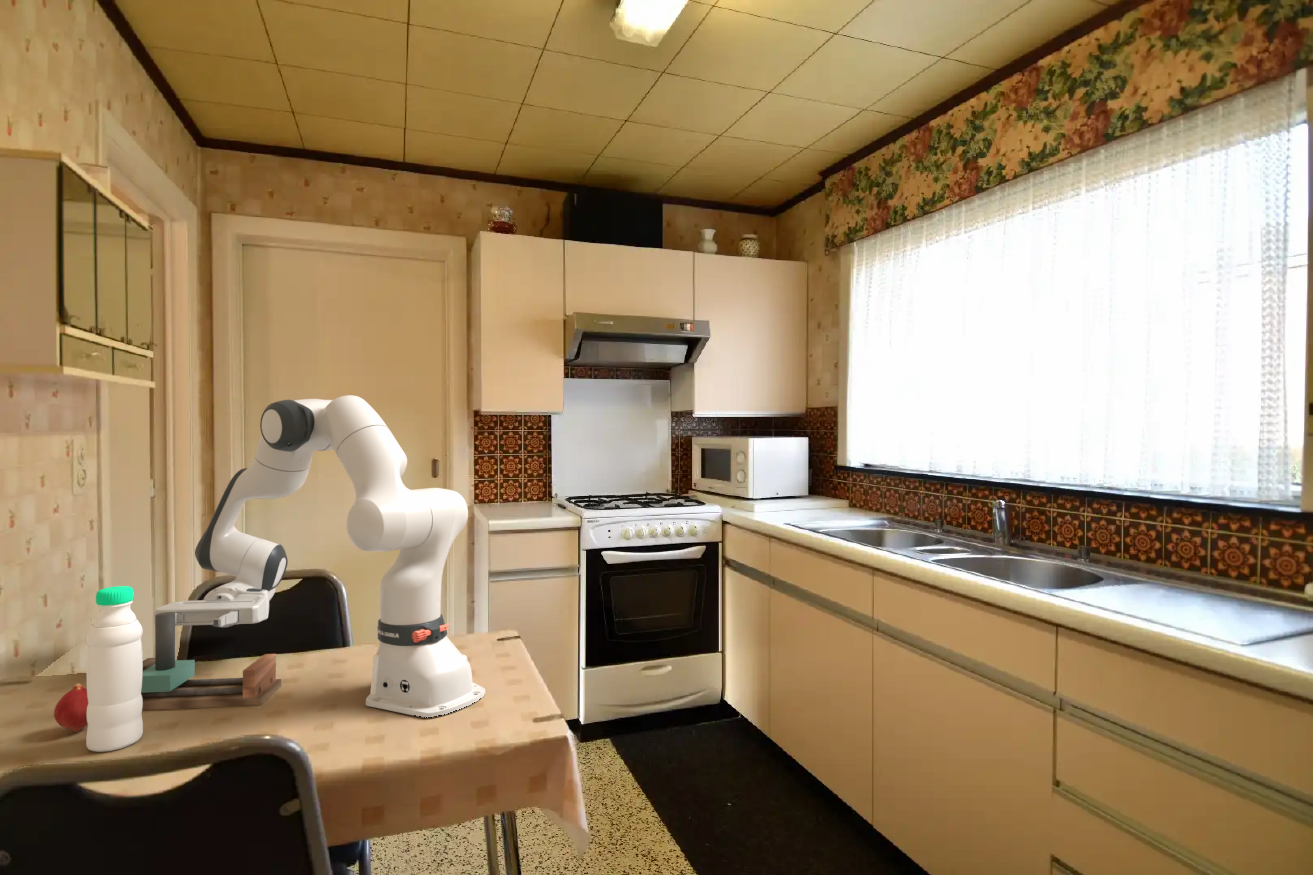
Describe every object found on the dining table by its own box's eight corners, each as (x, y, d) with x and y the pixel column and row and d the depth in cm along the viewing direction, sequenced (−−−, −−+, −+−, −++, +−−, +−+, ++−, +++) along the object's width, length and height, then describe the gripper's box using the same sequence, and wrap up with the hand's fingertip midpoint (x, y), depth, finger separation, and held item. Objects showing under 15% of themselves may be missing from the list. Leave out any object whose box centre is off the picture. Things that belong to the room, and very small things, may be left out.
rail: (281, 686, 132) (281, 653, 132) (260, 705, 123) (260, 669, 123) (148, 691, 129) (148, 657, 129) (116, 711, 120) (116, 675, 120)
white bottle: (75, 748, 106) (75, 590, 105) (124, 730, 112) (124, 581, 112) (104, 757, 103) (104, 595, 103) (153, 737, 110) (153, 585, 109)
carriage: (194, 675, 129) (194, 608, 129) (170, 691, 121) (170, 619, 121) (160, 676, 128) (160, 608, 128) (133, 692, 120) (133, 620, 120)
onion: (52, 731, 112) (52, 683, 112) (96, 720, 116) (96, 674, 116) (56, 742, 108) (56, 693, 108) (102, 730, 112) (102, 683, 112)
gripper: (175, 592, 145) (134, 609, 132) (275, 589, 148) (245, 606, 134) (175, 621, 146) (134, 641, 132) (275, 618, 148) (245, 637, 134)
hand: (191, 623), depth 133 cm, fingers open, 8 cm apart
